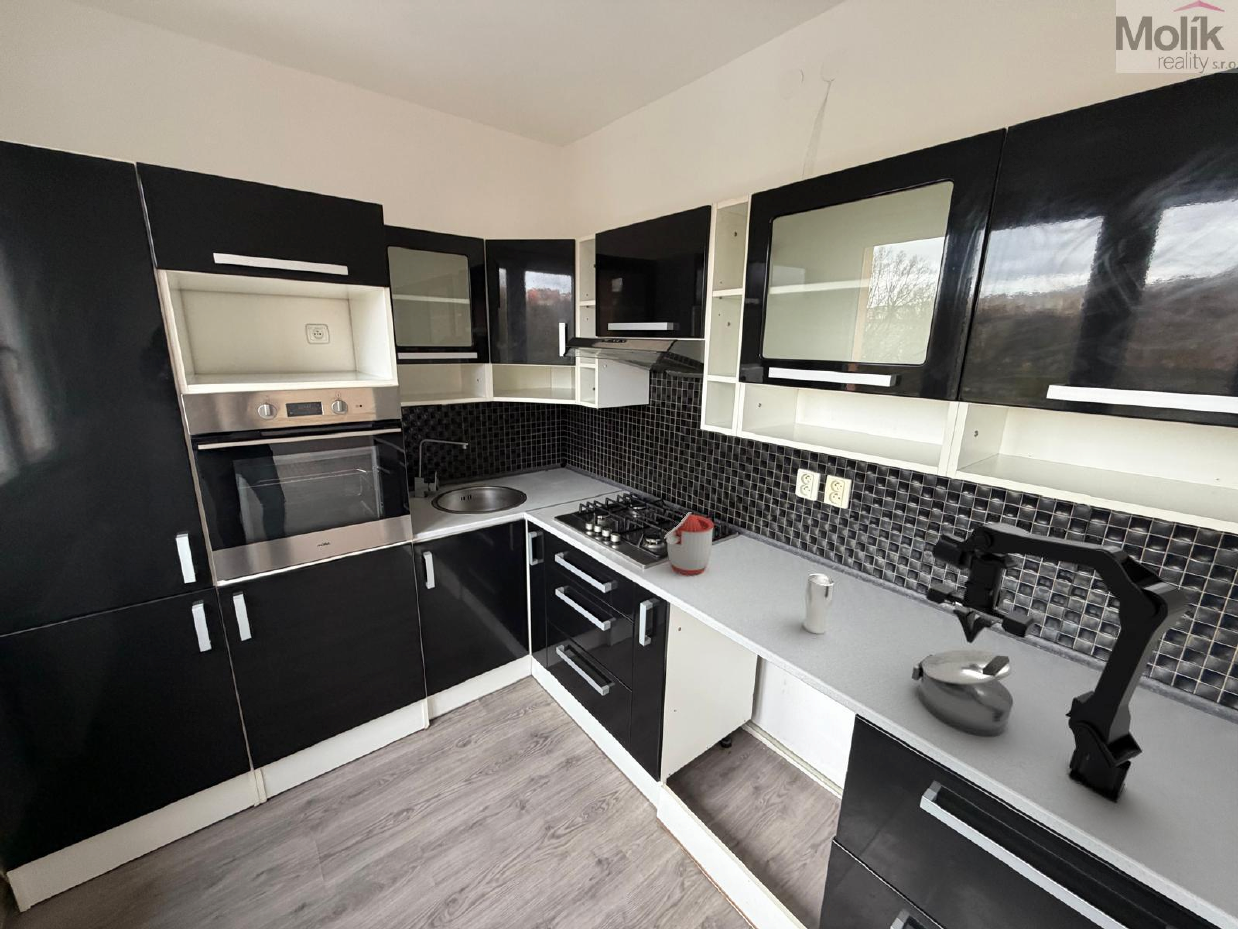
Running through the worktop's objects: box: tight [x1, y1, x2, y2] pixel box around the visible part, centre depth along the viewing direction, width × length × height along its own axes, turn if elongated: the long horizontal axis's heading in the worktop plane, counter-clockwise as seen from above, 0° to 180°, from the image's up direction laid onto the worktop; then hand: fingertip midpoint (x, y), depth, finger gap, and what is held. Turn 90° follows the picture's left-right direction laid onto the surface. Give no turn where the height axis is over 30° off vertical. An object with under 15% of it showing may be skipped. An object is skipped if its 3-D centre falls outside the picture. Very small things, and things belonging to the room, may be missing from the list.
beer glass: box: [802, 573, 835, 635], centre depth 132 cm, size 7×7×15 cm
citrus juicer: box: [665, 513, 715, 576], centre depth 165 cm, size 16×17×20 cm
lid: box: [917, 649, 1013, 684], centre depth 104 cm, size 16×16×2 cm
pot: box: [911, 655, 1014, 738], centre depth 106 cm, size 17×16×6 cm
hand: (970, 642), depth 108 cm, fingers closed
